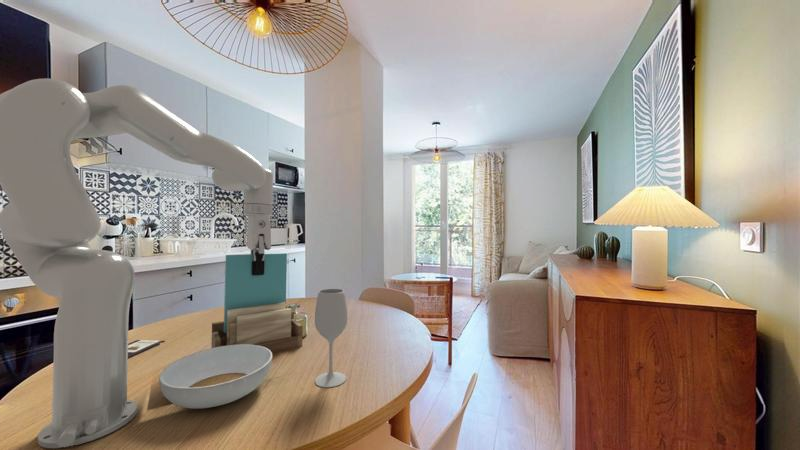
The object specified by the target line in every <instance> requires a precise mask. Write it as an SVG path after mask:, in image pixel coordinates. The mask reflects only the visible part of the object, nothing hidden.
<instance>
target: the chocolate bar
mask: <svg viewBox="0 0 800 450" xmlns="http://www.w3.org/2000/svg"><path fill="white" fill-rule="evenodd" d="M162 343H166V341H165V340H153V339H152V340H147V339H136V340H134V341H132V342H131V341H130V342H128V360H129V359H131V358H133V357H135V356H139V355H141V354H142V353H144V352H147V351H149V350H151V349H154V348H155V347H159V346H160V344H162Z"/></svg>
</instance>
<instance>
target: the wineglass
mask: <svg viewBox="0 0 800 450" xmlns="http://www.w3.org/2000/svg"><path fill="white" fill-rule="evenodd" d="M347 325H348V306H347V299H346V294H345V289H341V288H325V289H324V288H323V289H321V290H318V294H317V297H316V302H315V310H314V326H315V329H316V331H317V332H318V333H319V335H320V336H322V338H324V339H325V340H327V342H328V345H329V349H328V350H329V353H328V354H329V355H328V357H329V361H328V365H329V366H328V367H329V368H328V369H329V370H328V372H324V373H322V374H319V375H317V376H316V378H315V379H314V384H315V385H316V386H317V387H320V388H324V389H325V388H326V389H327V388H328V389H330V388H336V387H339V386H341V385H343V384H344V383H345V382H346V379H347V376H346V374H344V373H342V372H339V371H333V344H334V341H335V340H336V339H337V338H338V337H340V335H341V334H342V333H343V332H344V330H345V329H346V327H347Z"/></svg>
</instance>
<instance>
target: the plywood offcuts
mask: <svg viewBox="0 0 800 450" xmlns="http://www.w3.org/2000/svg"><path fill="white" fill-rule="evenodd" d="M291 311H292V308H287V302H286V303H285V302H283V303H275V304H268V305H260V306H252V307H244V308H236V309H229V310H227V345H240V344H249V345H252V344H257V343H262V342H268V341H273V340H278V339H283V338H288V337H291Z"/></svg>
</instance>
